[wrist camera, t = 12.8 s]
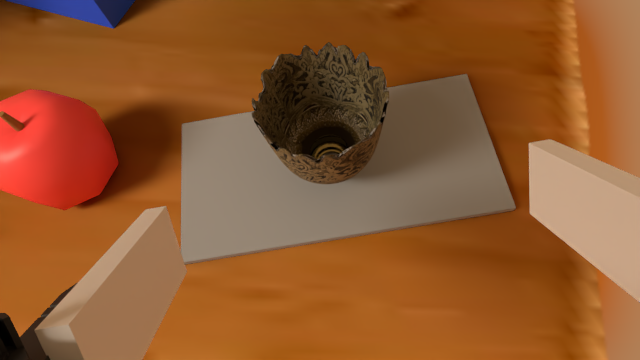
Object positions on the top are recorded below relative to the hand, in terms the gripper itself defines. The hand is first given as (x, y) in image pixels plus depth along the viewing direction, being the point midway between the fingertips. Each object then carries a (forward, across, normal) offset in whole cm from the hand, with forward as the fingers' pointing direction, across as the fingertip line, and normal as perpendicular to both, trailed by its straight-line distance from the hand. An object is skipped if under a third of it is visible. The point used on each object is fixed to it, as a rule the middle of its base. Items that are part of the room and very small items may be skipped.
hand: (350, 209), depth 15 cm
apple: (+17, -19, -1) cm, 26 cm away
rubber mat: (+15, 0, -3) cm, 15 cm away
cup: (+15, 0, -3) cm, 15 cm away
